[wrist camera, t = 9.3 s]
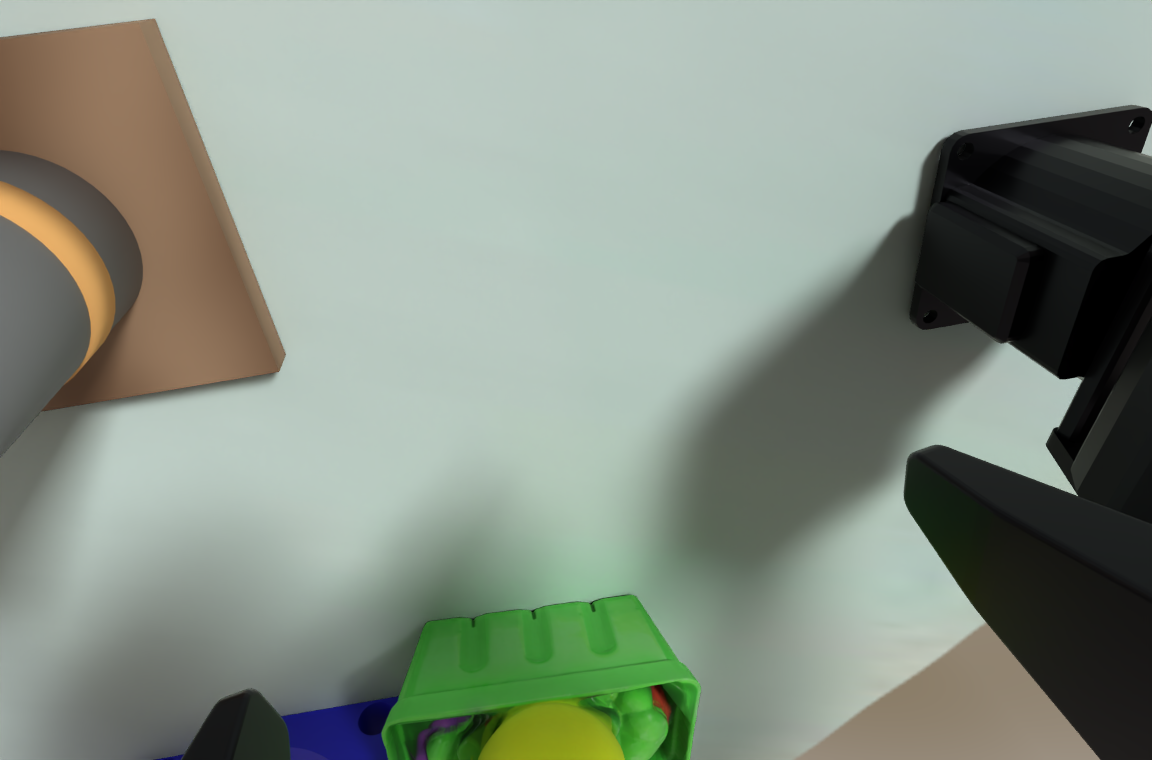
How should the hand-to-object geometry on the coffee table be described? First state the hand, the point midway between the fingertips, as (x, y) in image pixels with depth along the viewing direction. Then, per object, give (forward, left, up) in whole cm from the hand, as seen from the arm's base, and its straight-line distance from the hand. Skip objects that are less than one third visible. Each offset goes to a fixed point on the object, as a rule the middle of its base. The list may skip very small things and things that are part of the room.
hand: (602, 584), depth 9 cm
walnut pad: (+12, -2, -13) cm, 18 cm away
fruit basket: (+2, +18, -13) cm, 22 cm away
